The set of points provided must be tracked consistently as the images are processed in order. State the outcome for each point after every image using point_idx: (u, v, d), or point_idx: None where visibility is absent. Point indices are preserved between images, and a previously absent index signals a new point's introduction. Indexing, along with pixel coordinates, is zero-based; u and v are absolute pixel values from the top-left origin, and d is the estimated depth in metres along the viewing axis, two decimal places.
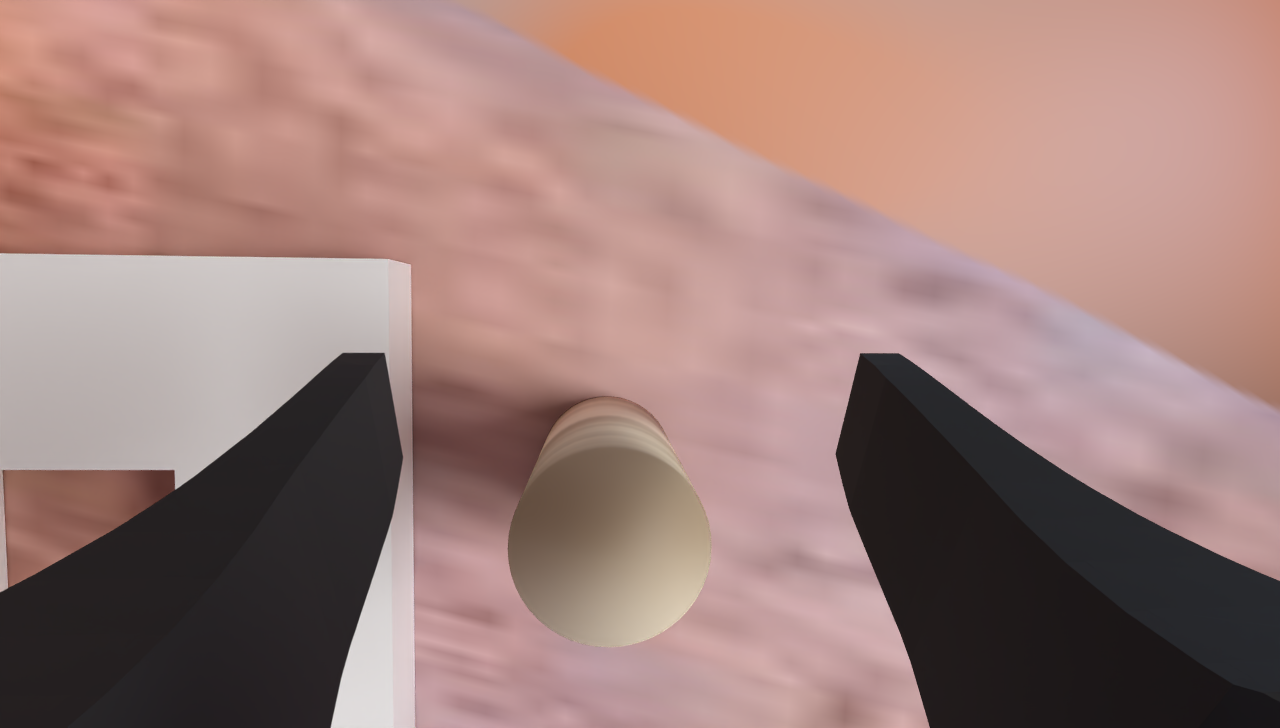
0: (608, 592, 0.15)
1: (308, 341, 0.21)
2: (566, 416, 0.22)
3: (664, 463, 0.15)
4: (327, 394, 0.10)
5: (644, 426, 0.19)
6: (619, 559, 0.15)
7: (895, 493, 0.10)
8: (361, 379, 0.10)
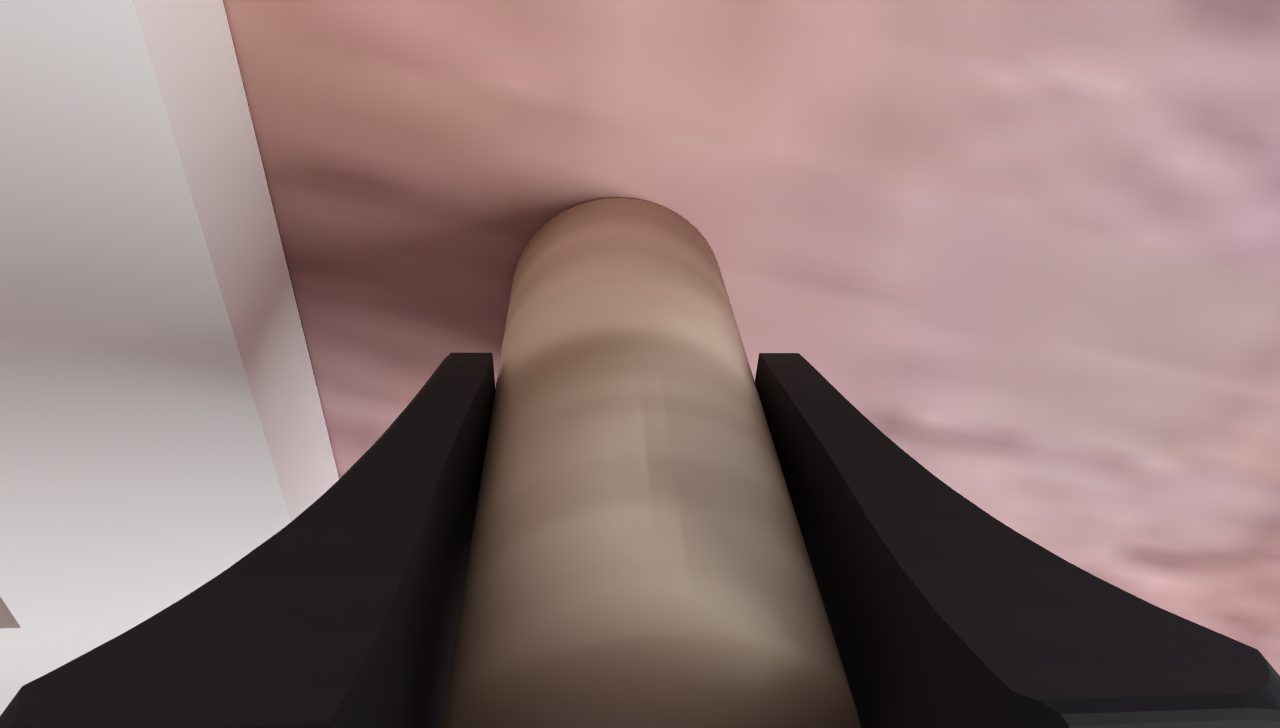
0: None
1: (1, 137, 0.10)
2: (549, 260, 0.12)
3: (786, 654, 0.06)
4: (451, 394, 0.10)
5: (704, 361, 0.10)
6: None
7: None
8: (480, 379, 0.10)
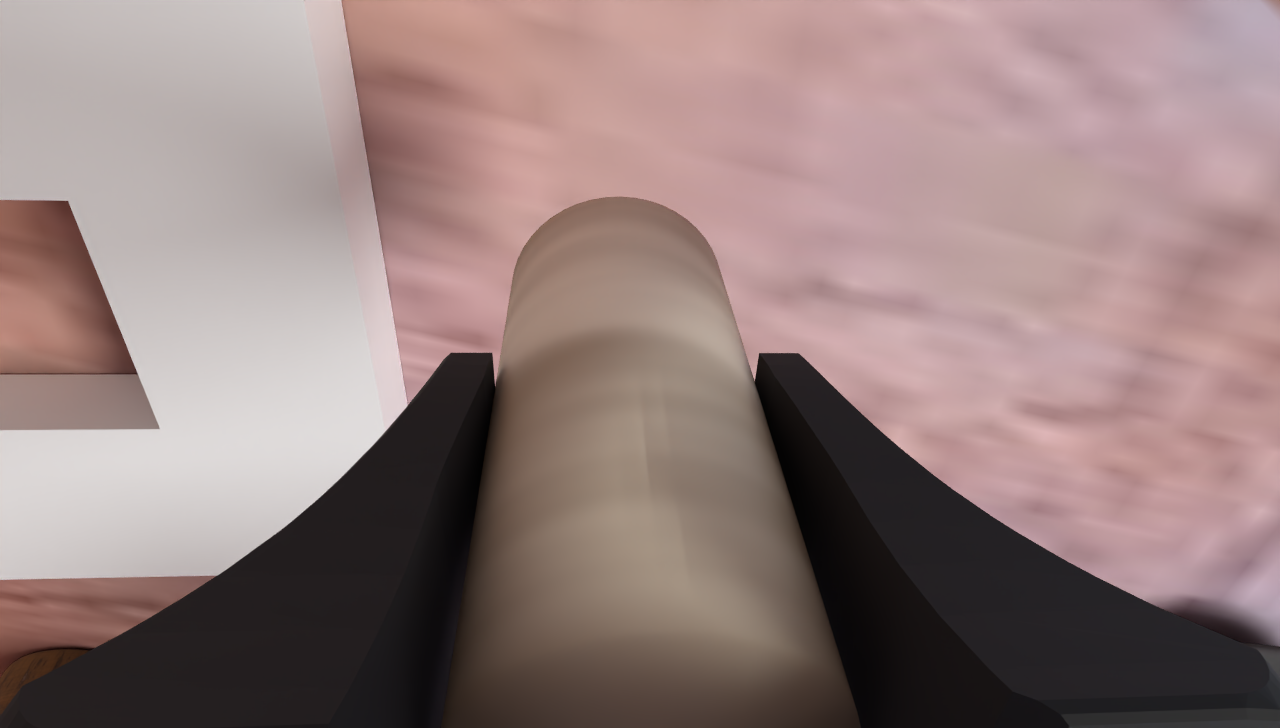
0: None
1: (196, 32, 0.15)
2: (549, 259, 0.12)
3: (785, 652, 0.06)
4: (451, 394, 0.10)
5: (703, 359, 0.10)
6: None
7: None
8: (480, 379, 0.10)
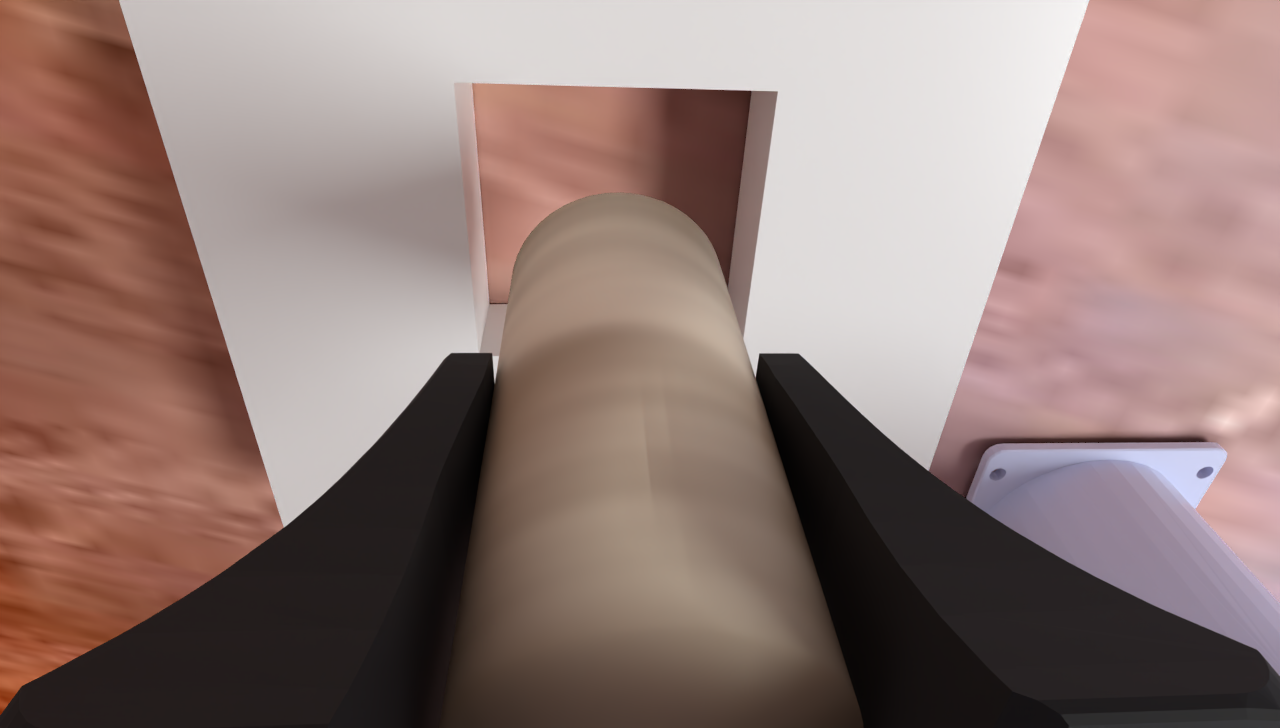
0: None
1: None
2: (548, 255, 0.12)
3: (787, 648, 0.06)
4: (451, 394, 0.10)
5: (704, 355, 0.10)
6: None
7: None
8: (480, 379, 0.10)
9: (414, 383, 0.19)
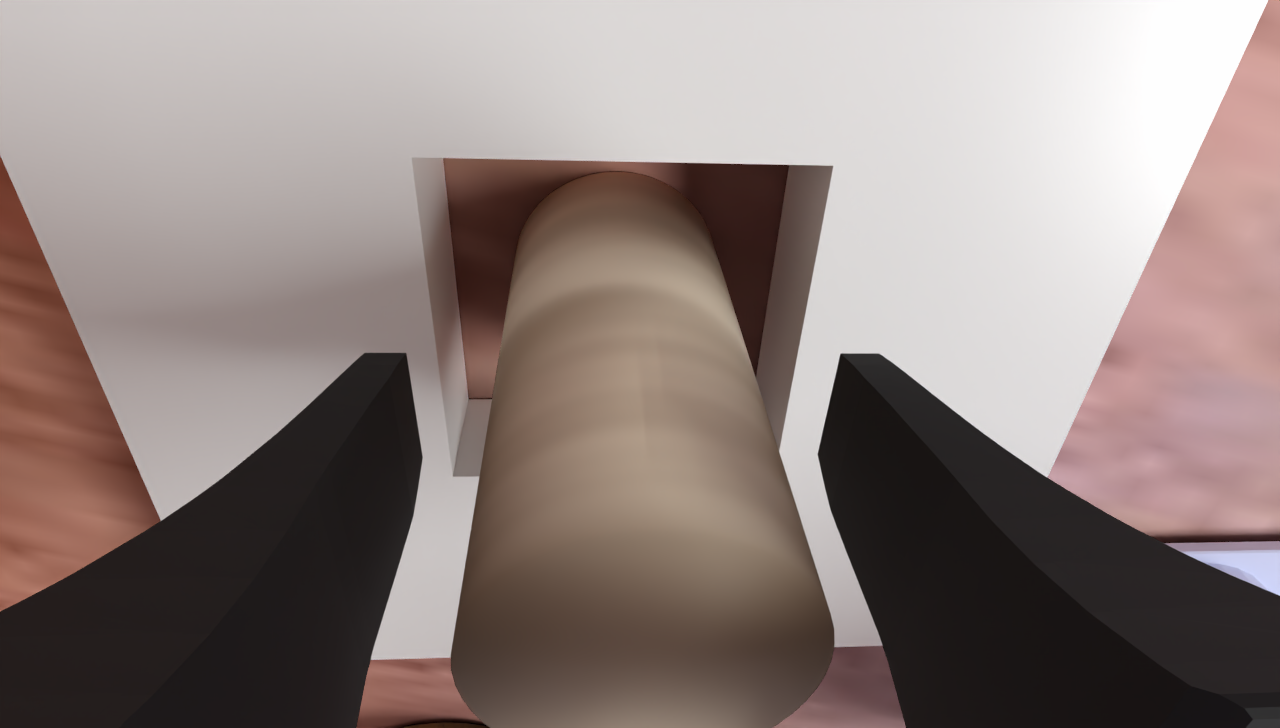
0: (638, 713, 0.09)
1: None
2: (551, 228, 0.13)
3: (764, 552, 0.07)
4: (352, 394, 0.10)
5: (695, 313, 0.11)
6: (662, 676, 0.08)
7: (873, 494, 0.10)
8: (385, 379, 0.10)
9: None
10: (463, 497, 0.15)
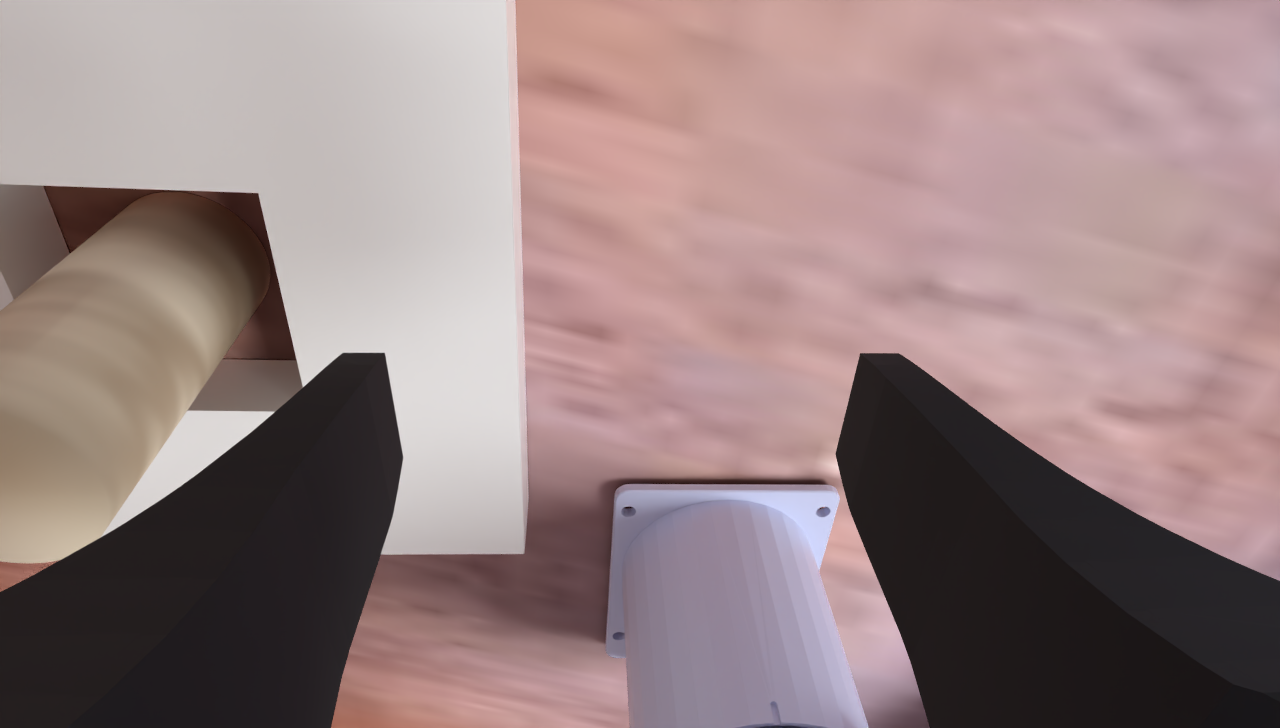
0: (4, 523, 0.14)
1: (403, 38, 0.16)
2: None
3: (11, 415, 0.13)
4: (327, 394, 0.10)
5: (121, 289, 0.16)
6: (3, 496, 0.14)
7: (895, 494, 0.10)
8: (361, 379, 0.10)
9: None
10: None
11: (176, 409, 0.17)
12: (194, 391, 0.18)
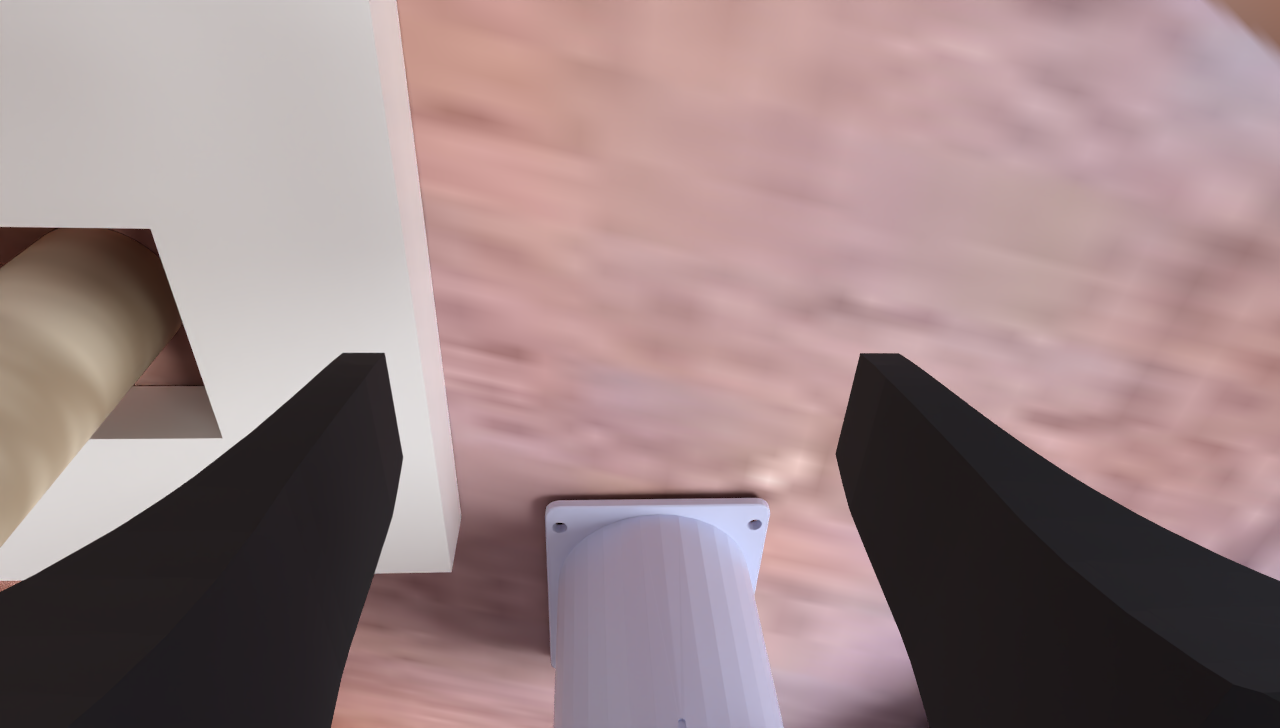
0: None
1: (276, 77, 0.16)
2: (1, 267, 0.19)
3: None
4: (327, 394, 0.10)
5: (9, 327, 0.17)
6: None
7: (895, 494, 0.10)
8: (361, 379, 0.10)
9: None
10: None
11: (66, 444, 0.17)
12: (90, 424, 0.18)
